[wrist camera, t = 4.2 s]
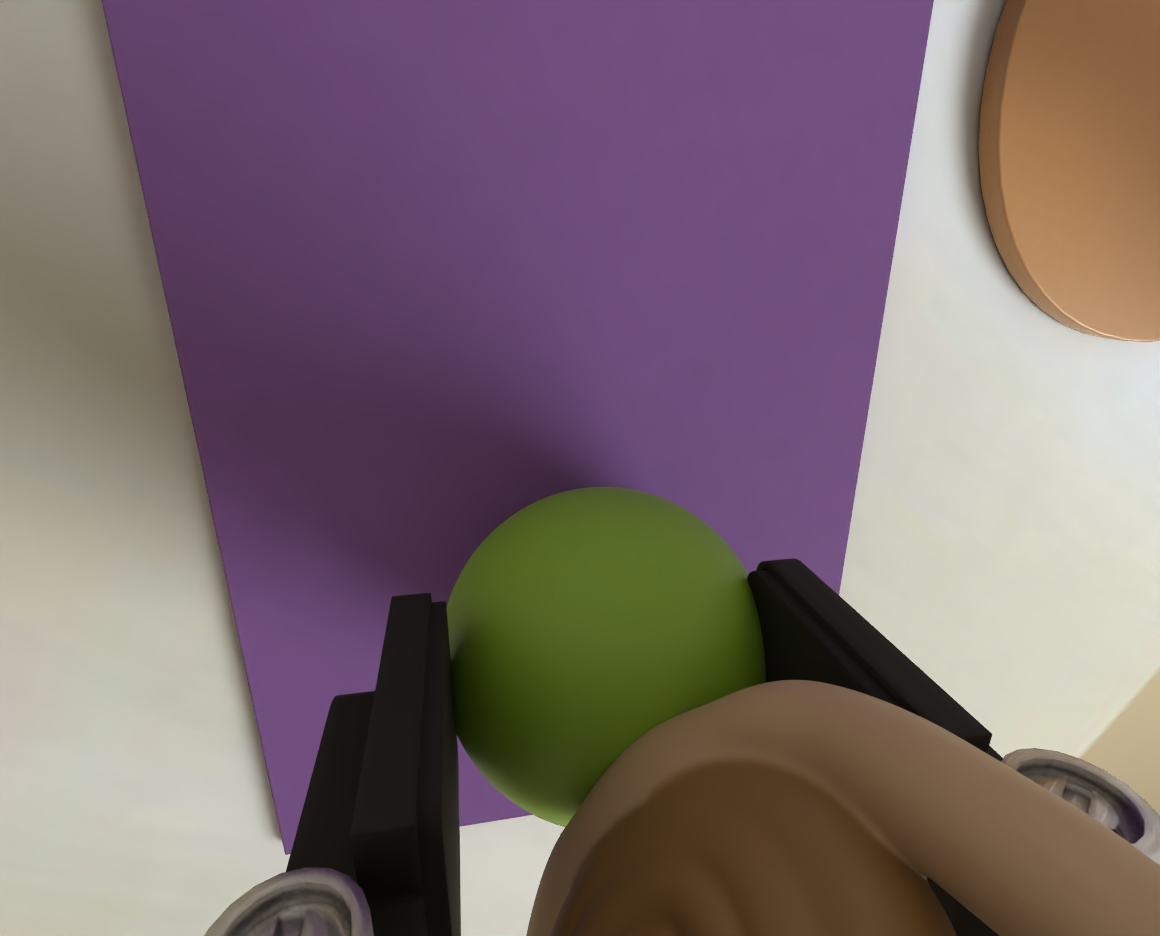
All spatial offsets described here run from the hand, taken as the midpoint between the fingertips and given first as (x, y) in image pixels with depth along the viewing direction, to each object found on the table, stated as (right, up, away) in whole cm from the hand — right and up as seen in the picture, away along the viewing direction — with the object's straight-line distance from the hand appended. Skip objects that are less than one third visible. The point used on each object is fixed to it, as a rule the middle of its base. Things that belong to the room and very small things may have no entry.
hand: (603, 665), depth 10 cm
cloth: (-1, +4, +3) cm, 5 cm away
